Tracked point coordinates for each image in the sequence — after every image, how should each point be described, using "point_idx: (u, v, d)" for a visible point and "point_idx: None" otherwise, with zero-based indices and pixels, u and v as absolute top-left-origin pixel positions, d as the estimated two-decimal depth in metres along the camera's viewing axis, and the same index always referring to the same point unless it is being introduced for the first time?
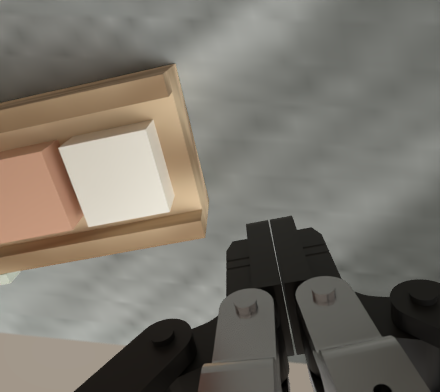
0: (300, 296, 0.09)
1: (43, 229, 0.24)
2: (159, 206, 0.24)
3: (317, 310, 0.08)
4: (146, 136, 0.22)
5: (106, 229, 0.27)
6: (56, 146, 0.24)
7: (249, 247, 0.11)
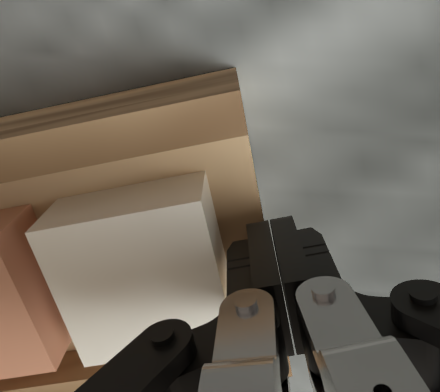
0: (300, 296, 0.09)
1: (2, 369, 0.13)
2: None
3: (317, 310, 0.08)
4: (201, 214, 0.11)
5: None
6: (27, 218, 0.13)
7: (249, 247, 0.11)
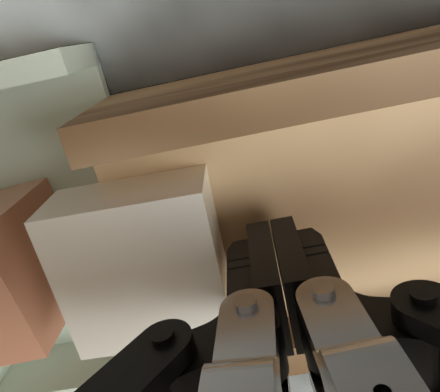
0: (300, 296, 0.09)
1: None
2: None
3: (317, 310, 0.08)
4: (202, 207, 0.11)
5: None
6: None
7: (249, 247, 0.11)
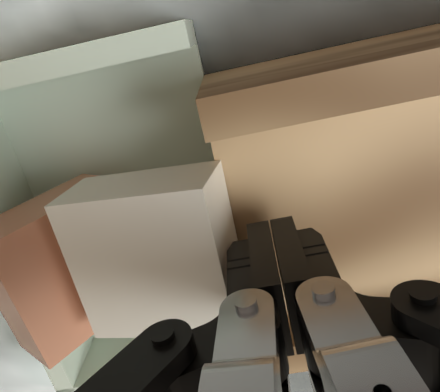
0: (300, 296, 0.09)
1: None
2: None
3: (317, 310, 0.08)
4: (203, 203, 0.11)
5: None
6: None
7: (249, 247, 0.11)
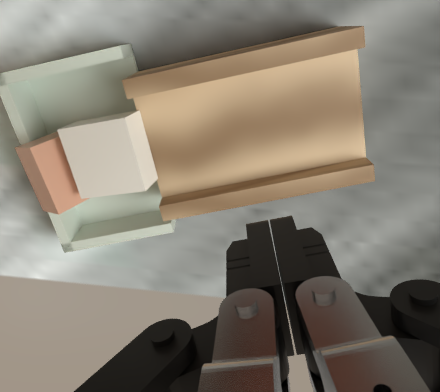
0: (300, 297, 0.09)
1: None
2: (137, 185, 0.27)
3: (317, 310, 0.08)
4: (125, 124, 0.26)
5: (277, 176, 0.29)
6: (28, 152, 0.27)
7: (249, 247, 0.11)
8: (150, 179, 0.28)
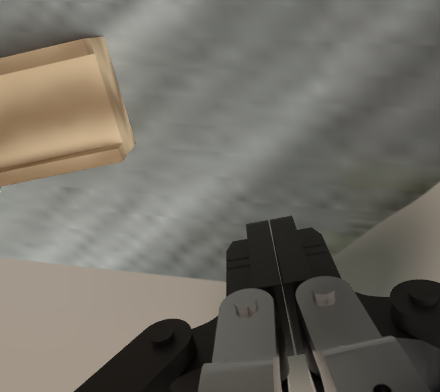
0: (300, 297, 0.09)
1: None
2: None
3: (317, 310, 0.08)
4: None
5: (52, 158, 0.36)
6: None
7: (249, 247, 0.11)
8: None
